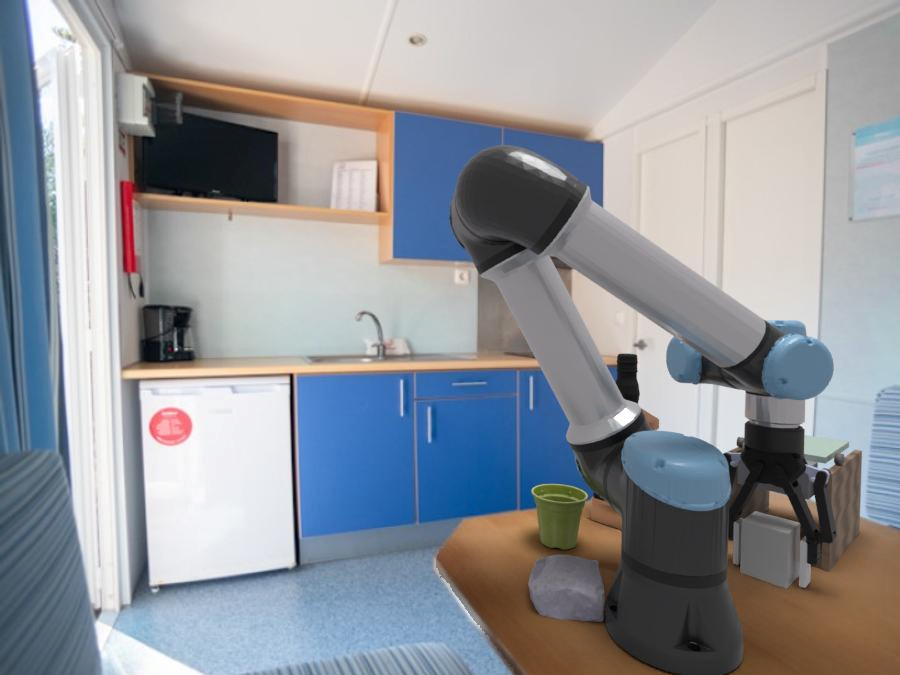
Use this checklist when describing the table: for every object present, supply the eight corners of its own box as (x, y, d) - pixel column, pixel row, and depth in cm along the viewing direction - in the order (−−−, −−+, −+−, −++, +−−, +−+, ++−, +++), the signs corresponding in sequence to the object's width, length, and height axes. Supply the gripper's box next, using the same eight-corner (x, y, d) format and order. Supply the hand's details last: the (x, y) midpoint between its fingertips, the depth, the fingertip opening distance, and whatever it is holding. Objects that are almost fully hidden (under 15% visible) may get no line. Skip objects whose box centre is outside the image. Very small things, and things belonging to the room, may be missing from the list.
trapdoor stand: (829, 571, 75) (832, 461, 74) (721, 537, 86) (723, 442, 86) (859, 532, 89) (862, 440, 89) (763, 507, 101) (765, 426, 100)
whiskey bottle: (613, 505, 101) (616, 351, 100) (661, 519, 94) (664, 354, 93) (586, 518, 94) (589, 353, 93) (636, 535, 87) (639, 356, 86)
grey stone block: (786, 589, 70) (788, 533, 69) (740, 572, 74) (741, 520, 74) (798, 575, 73) (800, 522, 73) (754, 560, 78) (755, 511, 78)
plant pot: (558, 526, 90) (559, 480, 90) (598, 546, 82) (599, 495, 82) (519, 538, 85) (520, 489, 85) (558, 560, 77) (559, 506, 77)
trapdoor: (816, 501, 75) (817, 462, 75) (731, 482, 84) (732, 447, 84) (848, 474, 89) (849, 441, 89) (772, 460, 99) (773, 430, 98)
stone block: (532, 631, 62) (612, 625, 61) (525, 594, 63) (605, 586, 61) (534, 586, 74) (601, 580, 72) (528, 554, 74) (595, 547, 72)
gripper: (869, 430, 68) (864, 592, 68) (710, 410, 84) (708, 541, 84) (857, 438, 63) (852, 612, 64) (691, 415, 79) (689, 554, 79)
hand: (770, 572), depth 74 cm, fingers open, 8 cm apart
